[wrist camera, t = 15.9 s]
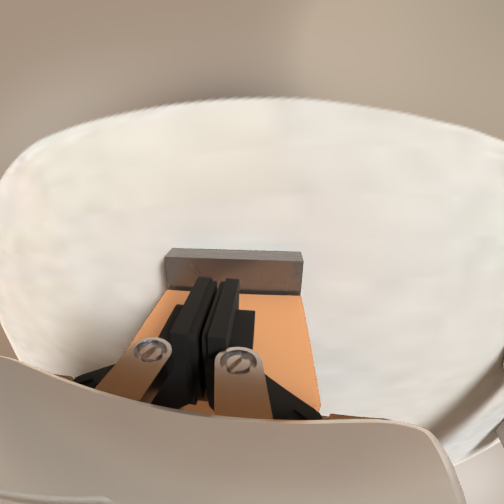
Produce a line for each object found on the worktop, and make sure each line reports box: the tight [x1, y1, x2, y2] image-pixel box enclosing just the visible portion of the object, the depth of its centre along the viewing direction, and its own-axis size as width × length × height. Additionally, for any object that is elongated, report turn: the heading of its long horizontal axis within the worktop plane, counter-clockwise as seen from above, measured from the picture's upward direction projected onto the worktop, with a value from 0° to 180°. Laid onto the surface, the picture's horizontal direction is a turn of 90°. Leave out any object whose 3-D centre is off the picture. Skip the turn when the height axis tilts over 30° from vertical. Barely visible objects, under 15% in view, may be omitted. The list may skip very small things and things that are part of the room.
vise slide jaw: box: [124, 290, 321, 415], centre depth 13 cm, size 8×3×8 cm, turn 89°
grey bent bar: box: [165, 248, 303, 296], centre depth 16 cm, size 8×18×10 cm, turn 179°
